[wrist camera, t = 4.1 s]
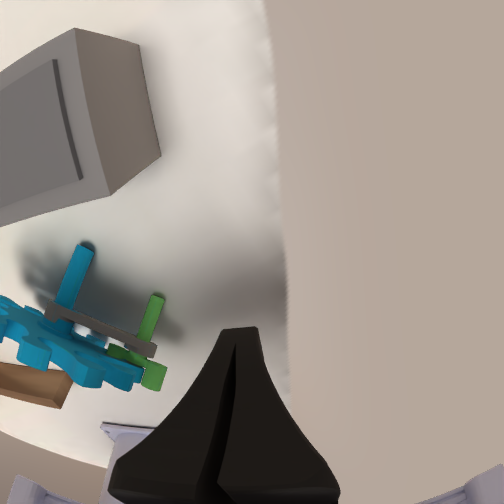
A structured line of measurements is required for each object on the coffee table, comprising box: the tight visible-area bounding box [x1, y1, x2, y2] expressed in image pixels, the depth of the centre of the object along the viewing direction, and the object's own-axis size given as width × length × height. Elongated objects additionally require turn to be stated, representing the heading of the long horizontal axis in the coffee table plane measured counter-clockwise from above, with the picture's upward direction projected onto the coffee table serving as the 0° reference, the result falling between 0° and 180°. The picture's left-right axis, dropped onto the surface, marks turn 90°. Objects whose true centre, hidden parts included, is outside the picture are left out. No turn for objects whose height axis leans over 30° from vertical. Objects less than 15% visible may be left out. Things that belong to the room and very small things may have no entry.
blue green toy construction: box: [0, 245, 167, 392], centre depth 13 cm, size 11×6×10 cm
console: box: [0, 28, 161, 227], centre depth 9 cm, size 5×7×5 cm
